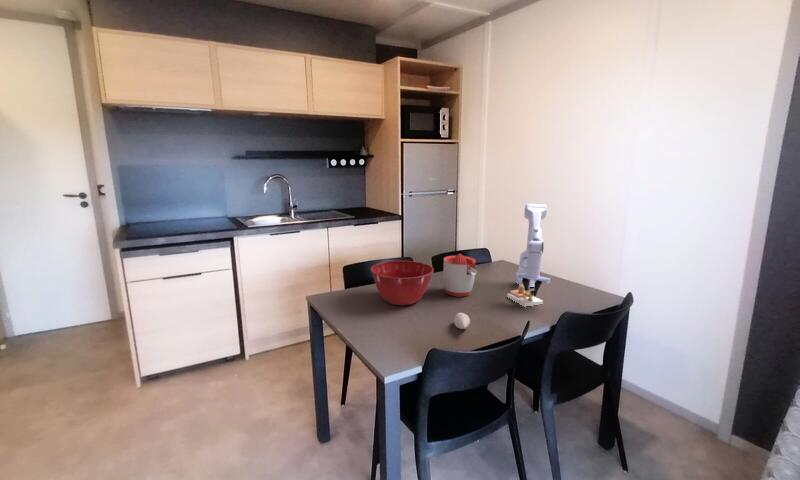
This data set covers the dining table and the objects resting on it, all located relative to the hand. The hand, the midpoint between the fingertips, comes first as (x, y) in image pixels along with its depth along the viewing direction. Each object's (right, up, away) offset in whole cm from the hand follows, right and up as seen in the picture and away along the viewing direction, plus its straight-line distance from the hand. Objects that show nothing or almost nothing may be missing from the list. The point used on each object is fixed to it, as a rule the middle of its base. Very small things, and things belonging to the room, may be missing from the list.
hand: (530, 295), depth 175 cm
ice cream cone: (-35, -10, -26) cm, 45 cm away
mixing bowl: (-59, -3, +3) cm, 59 cm away
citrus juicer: (-31, -1, +13) cm, 33 cm away
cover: (-2, -1, +7) cm, 7 cm away
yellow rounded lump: (-1, -2, +2) cm, 3 cm away
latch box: (-1, -3, +5) cm, 6 cm away
